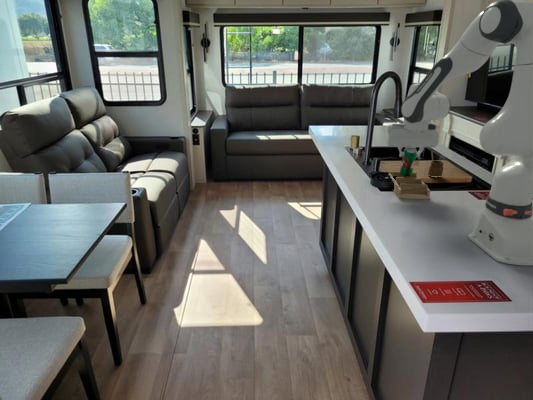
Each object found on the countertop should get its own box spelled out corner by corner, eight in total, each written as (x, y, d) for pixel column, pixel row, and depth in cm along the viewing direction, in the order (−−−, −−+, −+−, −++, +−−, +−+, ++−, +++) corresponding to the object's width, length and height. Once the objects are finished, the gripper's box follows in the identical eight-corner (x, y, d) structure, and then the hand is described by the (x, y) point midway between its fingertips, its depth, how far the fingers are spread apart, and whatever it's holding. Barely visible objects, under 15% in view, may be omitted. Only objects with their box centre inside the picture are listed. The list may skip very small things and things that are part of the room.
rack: (428, 199, 153) (431, 187, 151) (398, 198, 154) (400, 186, 152) (414, 181, 172) (416, 170, 170) (387, 180, 172) (389, 169, 170)
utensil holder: (442, 179, 175) (448, 153, 170) (428, 178, 176) (432, 152, 171) (440, 174, 180) (445, 150, 176) (426, 173, 181) (430, 149, 177)
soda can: (411, 178, 162) (417, 151, 157) (399, 176, 163) (404, 149, 158) (411, 173, 166) (417, 147, 161) (399, 171, 168) (404, 145, 162)
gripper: (390, 125, 153) (385, 158, 159) (442, 126, 152) (436, 159, 158) (386, 121, 159) (382, 153, 165) (437, 122, 158) (431, 155, 163)
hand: (409, 156), depth 161 cm, fingers closed on soda can, 5 cm apart
